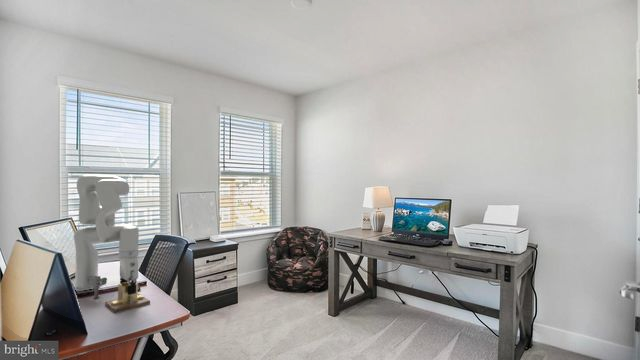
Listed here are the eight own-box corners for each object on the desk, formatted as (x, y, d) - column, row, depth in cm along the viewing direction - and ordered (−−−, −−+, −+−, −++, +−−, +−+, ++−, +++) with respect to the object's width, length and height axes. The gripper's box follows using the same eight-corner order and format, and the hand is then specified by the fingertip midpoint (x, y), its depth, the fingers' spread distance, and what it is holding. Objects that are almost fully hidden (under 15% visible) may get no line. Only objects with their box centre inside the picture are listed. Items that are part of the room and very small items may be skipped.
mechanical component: (102, 299, 148) (102, 278, 148) (84, 298, 150) (84, 277, 150) (107, 297, 151) (108, 276, 151) (90, 295, 153) (90, 275, 153)
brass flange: (139, 296, 150) (139, 279, 150) (144, 299, 146) (144, 282, 146) (110, 303, 140) (110, 285, 141) (114, 306, 137) (115, 288, 137)
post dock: (105, 305, 142) (105, 288, 142) (138, 297, 153) (139, 281, 153) (114, 313, 134) (115, 295, 134) (149, 303, 144) (150, 287, 144)
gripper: (145, 255, 141) (144, 293, 140) (130, 249, 152) (129, 285, 152) (126, 258, 135) (125, 298, 135) (112, 252, 146) (112, 289, 146)
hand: (127, 291), depth 143 cm, fingers open, 9 cm apart
